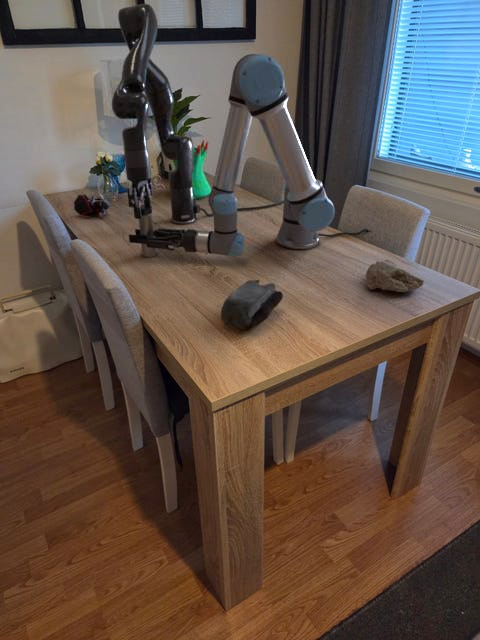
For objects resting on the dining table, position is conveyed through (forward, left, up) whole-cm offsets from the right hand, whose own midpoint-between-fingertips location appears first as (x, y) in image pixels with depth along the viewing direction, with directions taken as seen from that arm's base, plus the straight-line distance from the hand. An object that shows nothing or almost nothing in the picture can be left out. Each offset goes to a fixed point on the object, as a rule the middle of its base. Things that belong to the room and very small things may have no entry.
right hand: (132, 235), depth 153 cm
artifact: (-75, +41, -6) cm, 86 cm away
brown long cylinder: (-5, +2, -6) cm, 8 cm away
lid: (-5, +2, +10) cm, 12 cm away
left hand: (-4, +2, +8) cm, 9 cm away
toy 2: (-28, -67, -6) cm, 73 cm away
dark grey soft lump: (-30, +51, -6) cm, 59 cm away
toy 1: (+17, -44, -6) cm, 47 cm away
